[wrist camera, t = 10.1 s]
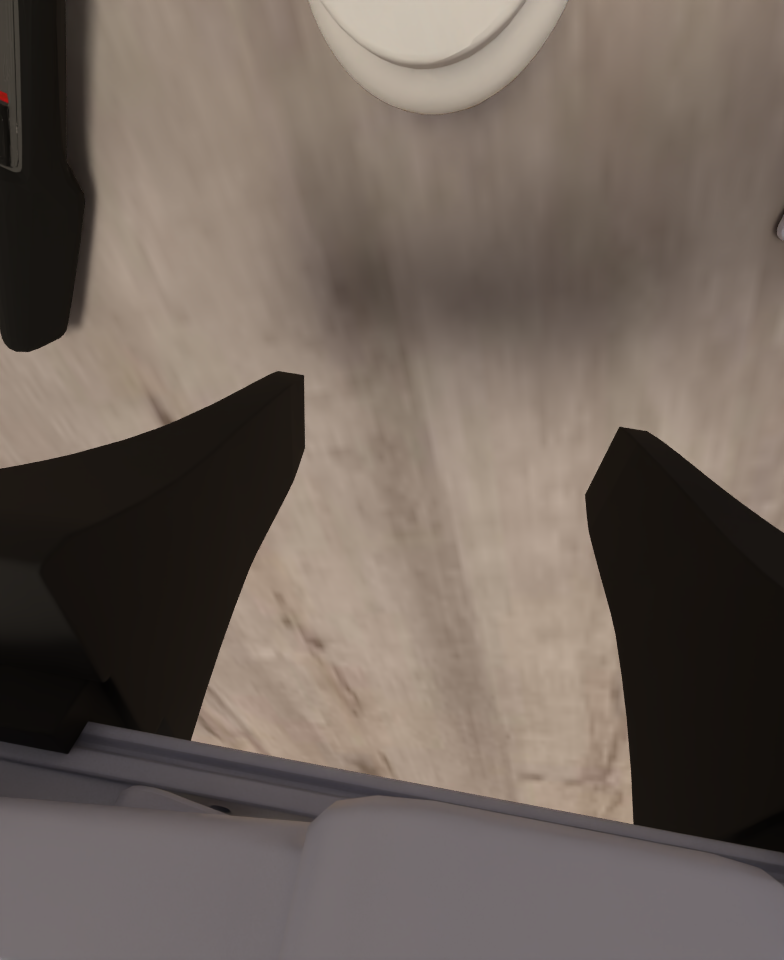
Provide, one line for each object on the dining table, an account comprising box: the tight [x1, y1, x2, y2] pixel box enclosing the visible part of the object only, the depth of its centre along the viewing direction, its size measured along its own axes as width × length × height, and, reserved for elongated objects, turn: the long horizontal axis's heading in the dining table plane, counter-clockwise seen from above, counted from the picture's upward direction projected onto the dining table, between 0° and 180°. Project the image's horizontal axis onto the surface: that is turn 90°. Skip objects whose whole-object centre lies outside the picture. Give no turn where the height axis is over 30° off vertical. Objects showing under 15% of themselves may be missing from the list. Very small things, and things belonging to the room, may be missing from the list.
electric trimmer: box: [0, 0, 85, 352], centre depth 16 cm, size 4×16×3 cm, turn 156°
